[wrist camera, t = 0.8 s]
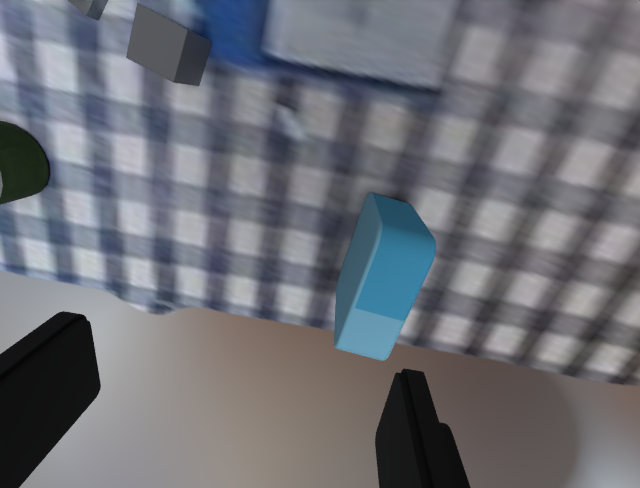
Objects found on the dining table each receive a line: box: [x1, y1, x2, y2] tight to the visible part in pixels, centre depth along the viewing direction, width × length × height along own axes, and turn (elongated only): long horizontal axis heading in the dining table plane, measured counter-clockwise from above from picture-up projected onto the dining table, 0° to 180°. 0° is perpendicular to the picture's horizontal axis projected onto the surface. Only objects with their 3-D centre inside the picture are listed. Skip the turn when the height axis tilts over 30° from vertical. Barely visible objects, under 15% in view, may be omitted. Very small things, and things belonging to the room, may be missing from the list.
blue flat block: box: [334, 193, 436, 361], centre depth 30 cm, size 12×4×12 cm, turn 165°
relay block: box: [126, 3, 212, 86], centre depth 27 cm, size 4×4×5 cm
